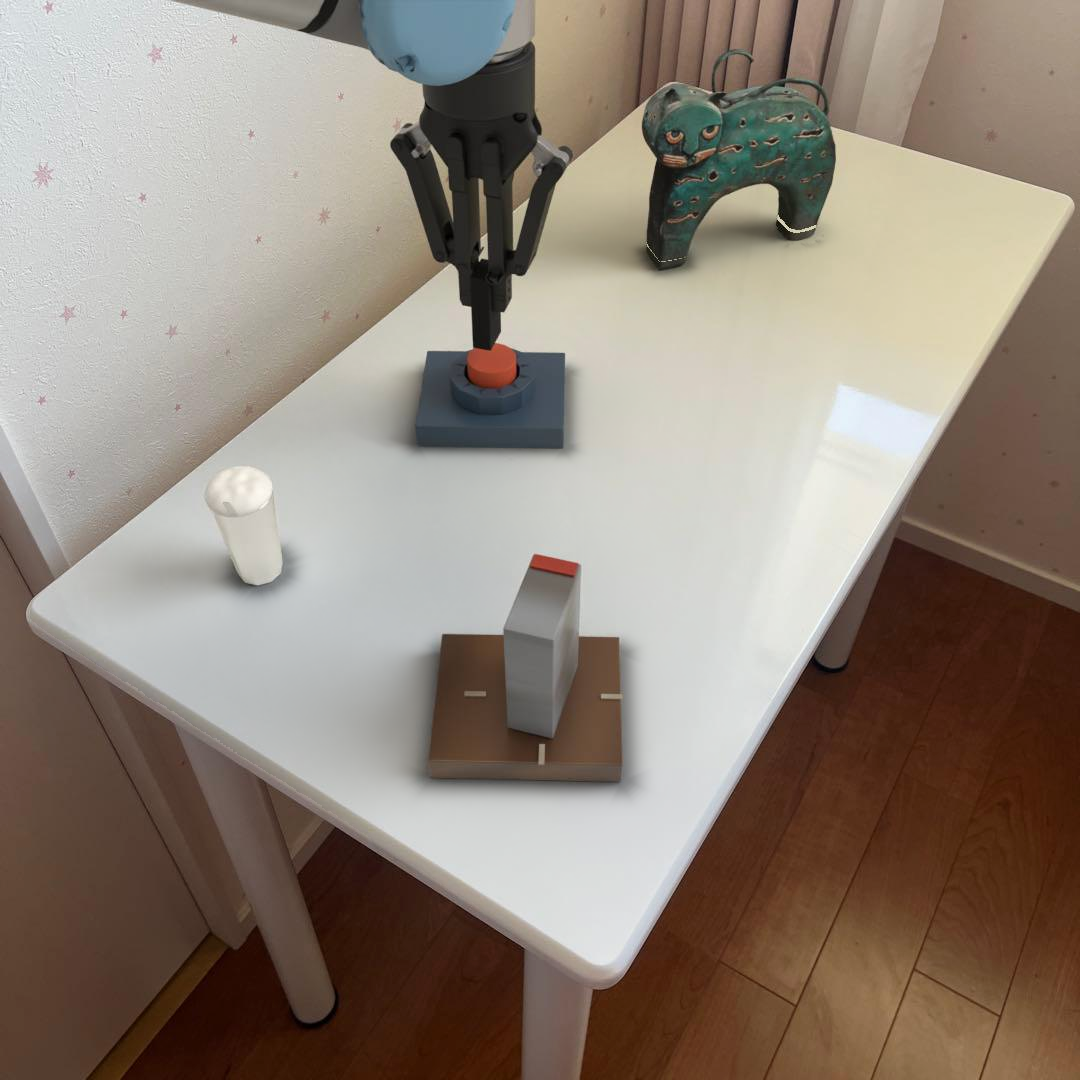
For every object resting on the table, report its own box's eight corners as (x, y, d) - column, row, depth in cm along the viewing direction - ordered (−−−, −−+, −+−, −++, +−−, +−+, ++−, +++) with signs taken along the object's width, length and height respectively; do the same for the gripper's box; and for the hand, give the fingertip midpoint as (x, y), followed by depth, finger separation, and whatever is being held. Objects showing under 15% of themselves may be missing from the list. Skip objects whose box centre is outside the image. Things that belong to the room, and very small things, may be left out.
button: (466, 389, 90) (465, 372, 89) (469, 359, 93) (468, 342, 91) (515, 390, 90) (514, 373, 89) (517, 359, 93) (517, 342, 91)
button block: (417, 446, 91) (413, 408, 88) (429, 370, 97) (425, 333, 95) (563, 448, 90) (564, 411, 87) (564, 372, 97) (565, 335, 94)
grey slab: (552, 739, 69) (553, 637, 61) (507, 727, 69) (502, 625, 62) (578, 665, 73) (581, 561, 65) (534, 654, 73) (533, 550, 66)
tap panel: (429, 779, 69) (427, 761, 68) (444, 650, 76) (441, 630, 75) (622, 783, 69) (624, 765, 67) (619, 653, 76) (620, 634, 74)
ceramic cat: (647, 280, 107) (663, 75, 92) (622, 245, 111) (633, 44, 97) (829, 243, 111) (871, 42, 97) (798, 211, 116) (834, 14, 101)
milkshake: (222, 602, 79) (190, 503, 72) (234, 547, 83) (204, 448, 76) (286, 600, 79) (260, 501, 72) (295, 545, 83) (271, 446, 76)
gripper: (589, 30, 73) (577, 327, 90) (404, 6, 75) (427, 300, 92) (558, 77, 68) (552, 382, 85) (361, 50, 70) (393, 352, 87)
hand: (487, 339), depth 89 cm, fingers closed
